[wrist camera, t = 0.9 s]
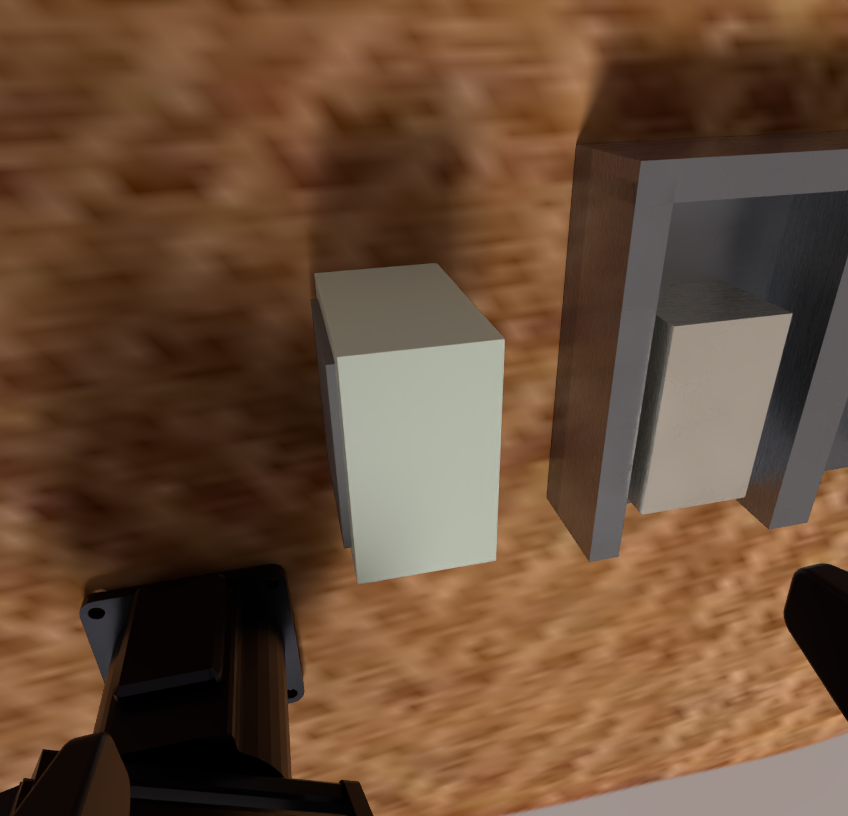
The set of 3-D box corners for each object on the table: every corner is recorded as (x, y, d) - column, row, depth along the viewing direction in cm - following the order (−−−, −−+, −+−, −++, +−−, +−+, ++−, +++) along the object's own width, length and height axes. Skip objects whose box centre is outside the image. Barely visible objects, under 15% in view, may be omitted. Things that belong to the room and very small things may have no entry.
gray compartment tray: (883, 444, 26) (977, 501, 23) (546, 498, 24) (596, 572, 20) (1000, 122, 21) (1149, 134, 17) (576, 144, 18) (652, 163, 15)
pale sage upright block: (438, 440, 22) (495, 560, 16) (326, 456, 21) (349, 585, 16) (436, 262, 19) (504, 338, 14) (307, 273, 18) (327, 358, 13)
